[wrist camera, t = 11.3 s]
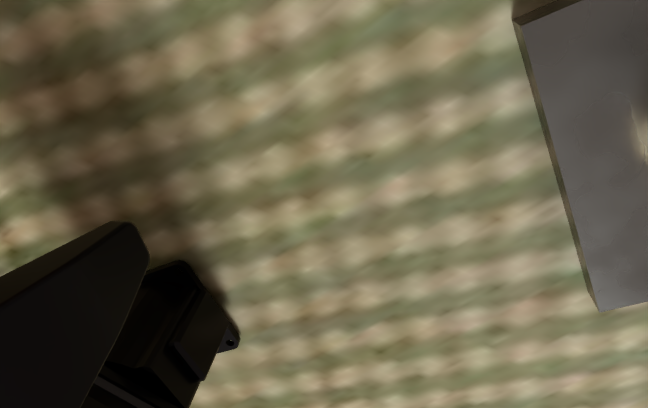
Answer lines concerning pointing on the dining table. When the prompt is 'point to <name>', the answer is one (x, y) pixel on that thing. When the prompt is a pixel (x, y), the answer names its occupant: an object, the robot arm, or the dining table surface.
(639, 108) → the tube holder stand
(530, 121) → the dining table surface
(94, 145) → the dining table surface
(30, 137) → the dining table surface
